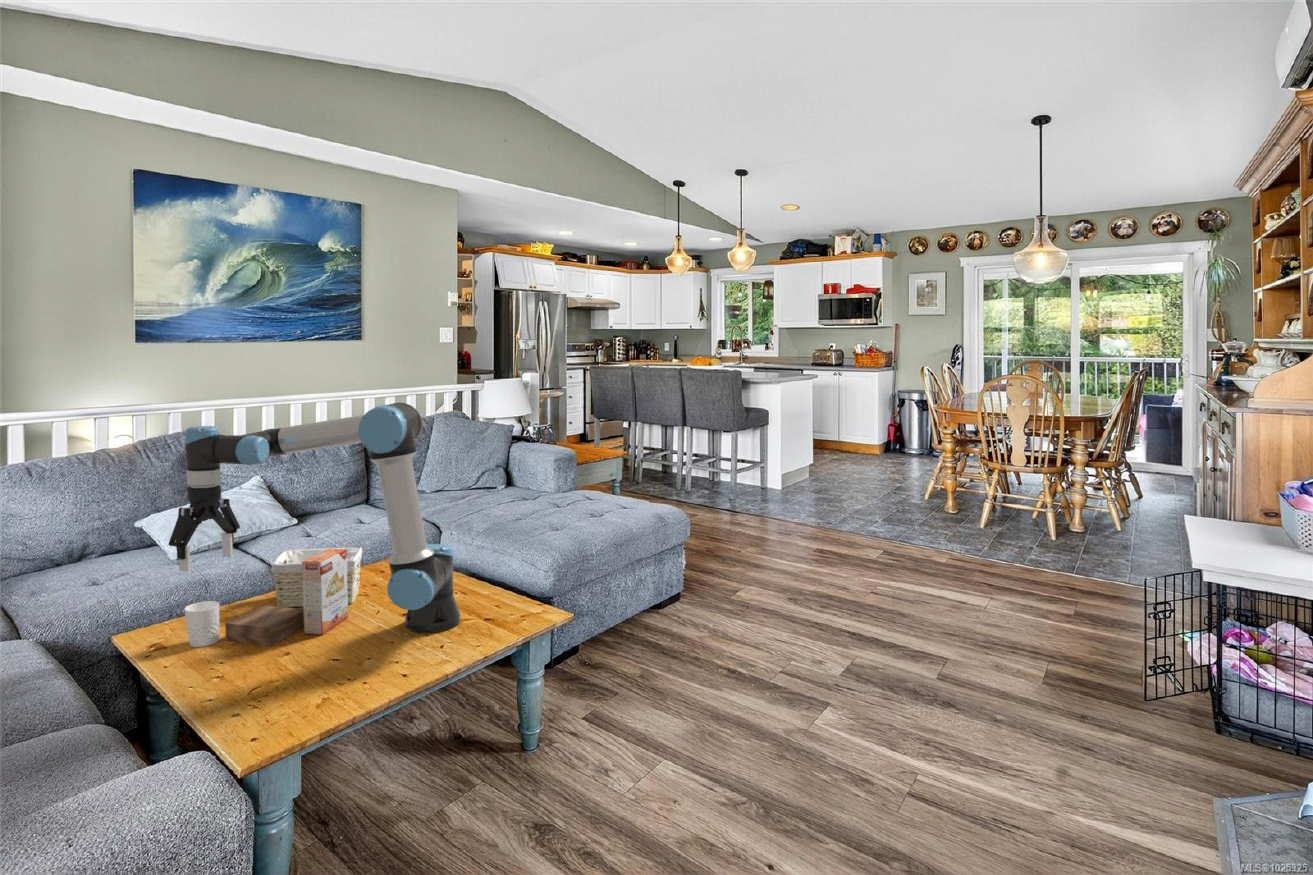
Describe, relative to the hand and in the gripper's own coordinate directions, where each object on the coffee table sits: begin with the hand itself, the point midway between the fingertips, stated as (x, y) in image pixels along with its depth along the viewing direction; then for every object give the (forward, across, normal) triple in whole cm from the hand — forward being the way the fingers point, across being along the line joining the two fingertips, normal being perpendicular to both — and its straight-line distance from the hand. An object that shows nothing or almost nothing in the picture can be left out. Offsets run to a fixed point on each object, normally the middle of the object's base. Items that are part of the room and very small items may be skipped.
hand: (207, 563), depth 190 cm
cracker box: (+21, -17, +23) cm, 36 cm away
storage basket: (+21, -35, +7) cm, 41 cm away
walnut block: (+21, -8, +12) cm, 25 cm away
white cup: (+22, +2, 0) cm, 22 cm away
